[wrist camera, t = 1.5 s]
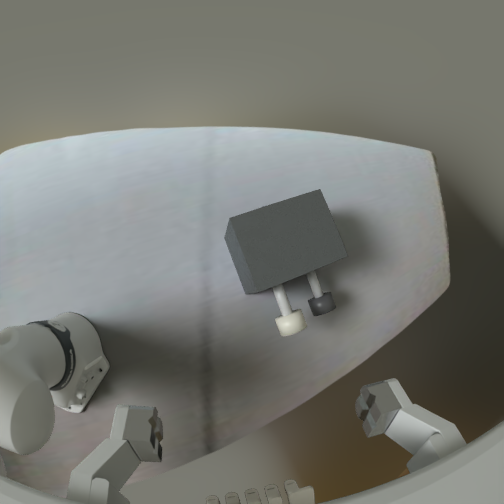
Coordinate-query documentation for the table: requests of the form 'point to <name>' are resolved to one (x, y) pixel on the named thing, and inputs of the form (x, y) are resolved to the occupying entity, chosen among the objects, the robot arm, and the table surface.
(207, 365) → the table surface
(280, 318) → the ivory knob
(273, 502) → the white spaceship model
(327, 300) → the charcoal knob
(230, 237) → the control box
